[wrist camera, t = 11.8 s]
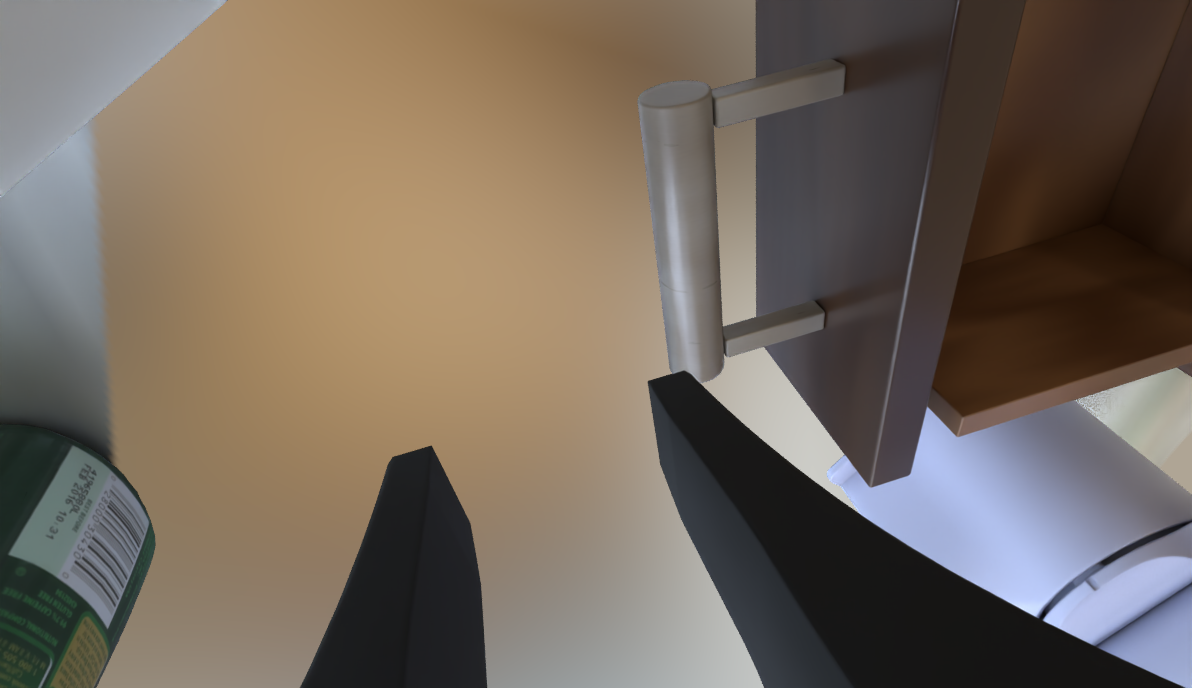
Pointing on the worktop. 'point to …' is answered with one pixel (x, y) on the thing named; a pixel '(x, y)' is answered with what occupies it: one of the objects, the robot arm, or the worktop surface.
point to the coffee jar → (65, 559)
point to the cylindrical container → (76, 66)
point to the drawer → (939, 209)
